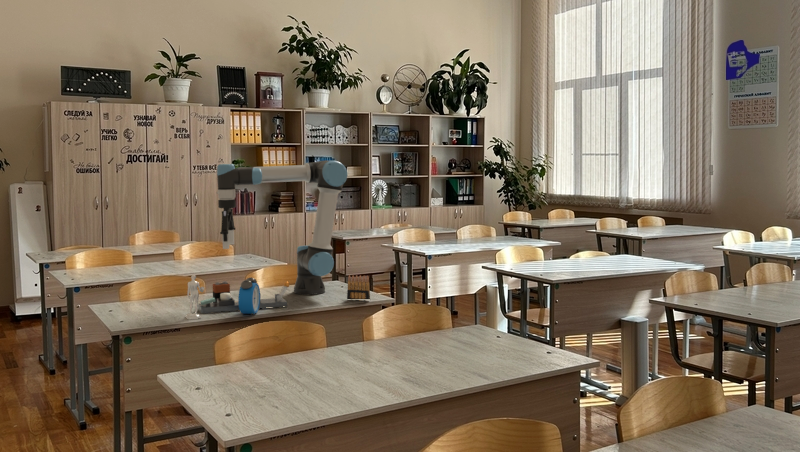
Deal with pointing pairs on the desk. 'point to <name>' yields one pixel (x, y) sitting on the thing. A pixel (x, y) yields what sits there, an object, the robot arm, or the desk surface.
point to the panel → (234, 305)
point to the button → (225, 296)
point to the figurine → (194, 293)
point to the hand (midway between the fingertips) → (228, 246)
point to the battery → (220, 289)
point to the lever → (284, 288)
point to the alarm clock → (249, 296)
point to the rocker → (207, 301)
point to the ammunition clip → (356, 292)
